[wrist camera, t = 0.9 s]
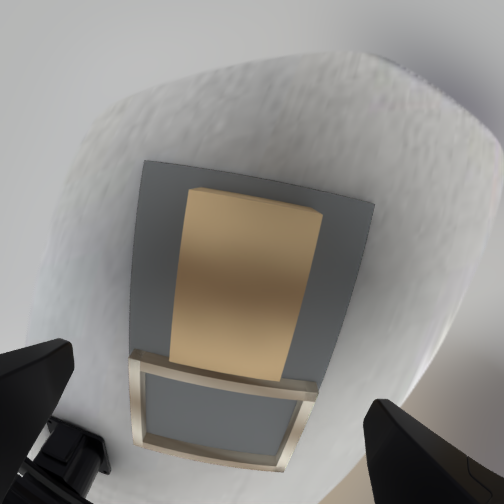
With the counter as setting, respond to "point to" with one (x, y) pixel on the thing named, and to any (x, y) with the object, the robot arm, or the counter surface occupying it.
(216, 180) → the mat
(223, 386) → the frame
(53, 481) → the robot arm
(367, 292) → the counter surface
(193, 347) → the tile
